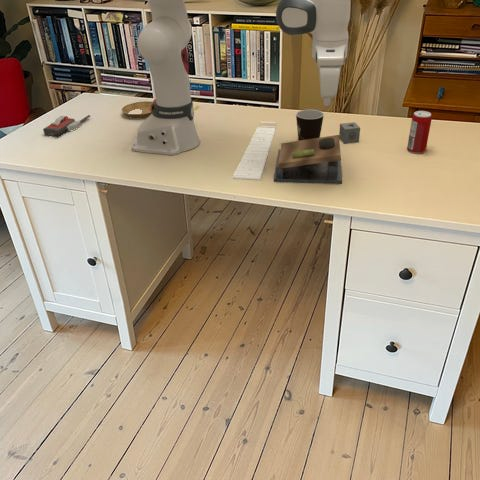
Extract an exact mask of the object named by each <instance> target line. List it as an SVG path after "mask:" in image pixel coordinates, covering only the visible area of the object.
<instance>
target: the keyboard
mask: <svg viewBox="0 0 480 480" xmlns="http://www.w3.org/2000/svg"><path fill="white" fill-rule="evenodd" d="M259 123H260V124H261V123H265V124H278V122H276V121H275V122H274V121H259ZM276 127H277V126H275V125H273V126H270V125H266V126H265V125H258V126H257V128H256V130H255V132H254V134H253V136H252V137H251V140H250V141H249V143H248V146H247V147H246V150H245V151H244V153H243V155H242V158H240V159H241V160H240V162H239V163H238V166H237V167H236V169H235V171H234V173H233V175H232V179H233V180H241V181H243V180H244V181H245V180H246V181H261V180H262V177H263V175H264V174H263V173H264V171H265V166H266V163H267V159H268V157H269V152H270V150H271V149H270V148H271V146H272V142H273V139H274V135H275V132H276Z"/></svg>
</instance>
